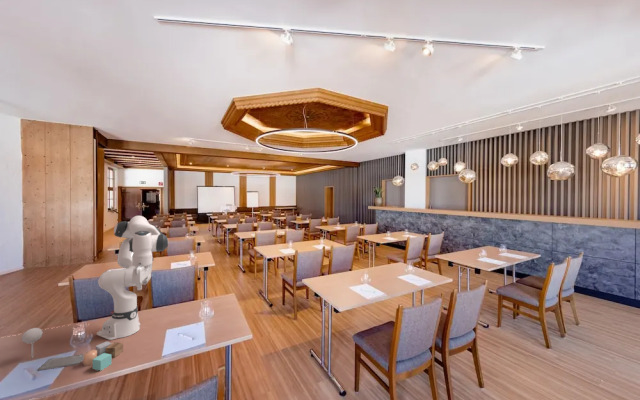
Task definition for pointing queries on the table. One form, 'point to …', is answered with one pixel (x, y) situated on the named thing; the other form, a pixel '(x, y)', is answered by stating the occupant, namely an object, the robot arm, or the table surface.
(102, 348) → the slate cube
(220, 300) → the table surface
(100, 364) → the teal cube
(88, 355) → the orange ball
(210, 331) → the table surface
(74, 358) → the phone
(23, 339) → the lollipop
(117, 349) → the walnut cube
